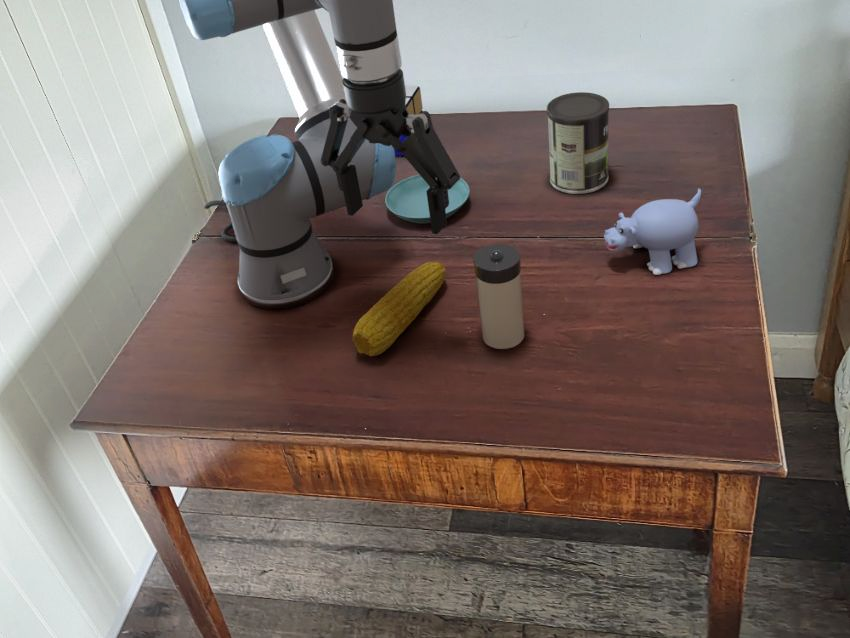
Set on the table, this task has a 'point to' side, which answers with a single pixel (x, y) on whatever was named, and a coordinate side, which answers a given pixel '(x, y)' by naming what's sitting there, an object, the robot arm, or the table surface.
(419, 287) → the food
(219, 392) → the table surface
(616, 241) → the hippopotamus toy
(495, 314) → the pepper mill
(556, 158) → the coffee can
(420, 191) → the saucer
